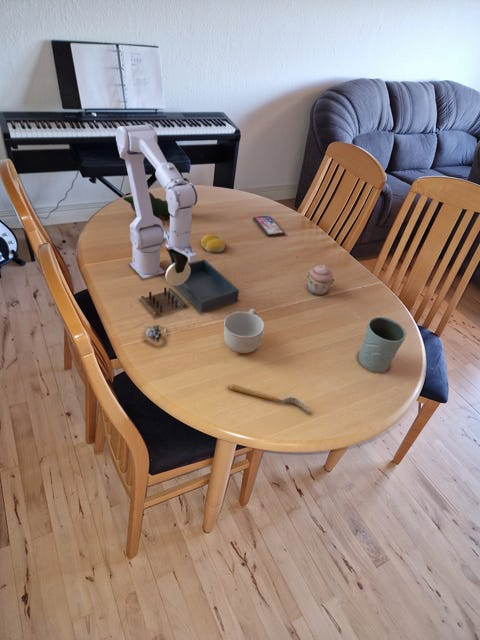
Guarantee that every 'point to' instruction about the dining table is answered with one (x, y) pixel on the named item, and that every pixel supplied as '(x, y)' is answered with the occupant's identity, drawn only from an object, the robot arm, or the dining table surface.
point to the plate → (177, 275)
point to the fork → (267, 396)
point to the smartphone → (268, 226)
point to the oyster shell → (154, 332)
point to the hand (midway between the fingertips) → (178, 270)
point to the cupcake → (320, 279)
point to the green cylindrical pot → (381, 343)
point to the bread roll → (213, 243)
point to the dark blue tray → (207, 287)
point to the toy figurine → (155, 205)
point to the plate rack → (163, 302)
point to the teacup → (243, 331)
